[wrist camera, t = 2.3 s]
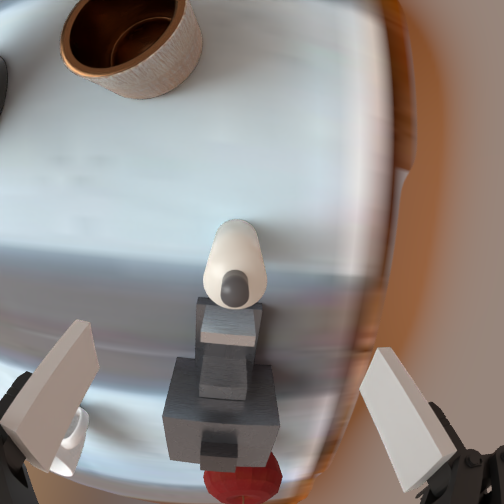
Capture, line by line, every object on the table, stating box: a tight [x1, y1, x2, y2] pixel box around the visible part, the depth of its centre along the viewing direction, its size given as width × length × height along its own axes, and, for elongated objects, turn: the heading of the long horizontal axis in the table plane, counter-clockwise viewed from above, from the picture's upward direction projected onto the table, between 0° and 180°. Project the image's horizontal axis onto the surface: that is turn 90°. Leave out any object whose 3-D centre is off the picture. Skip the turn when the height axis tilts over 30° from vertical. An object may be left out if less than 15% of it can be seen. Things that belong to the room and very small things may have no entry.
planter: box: [60, 0, 202, 99], centre depth 18 cm, size 11×11×10 cm
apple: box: [203, 452, 283, 504], centre depth 34 cm, size 12×12×13 cm
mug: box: [50, 406, 89, 476], centre depth 31 cm, size 15×11×13 cm
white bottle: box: [203, 219, 267, 309], centre depth 24 cm, size 4×4×12 cm
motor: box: [162, 297, 280, 473], centre depth 29 cm, size 22×12×12 cm, turn 173°
